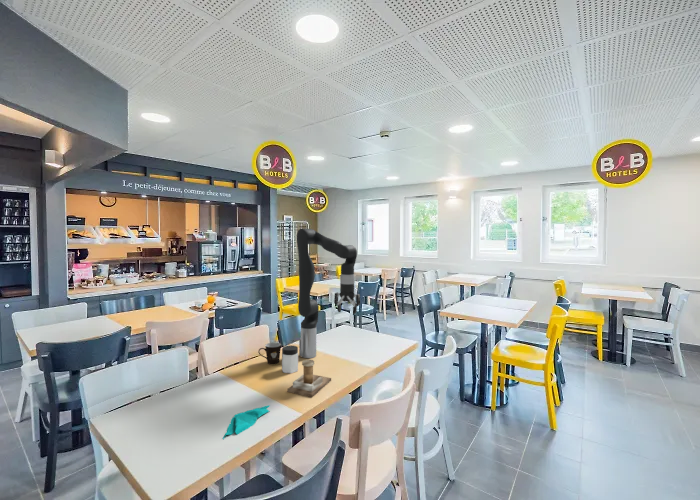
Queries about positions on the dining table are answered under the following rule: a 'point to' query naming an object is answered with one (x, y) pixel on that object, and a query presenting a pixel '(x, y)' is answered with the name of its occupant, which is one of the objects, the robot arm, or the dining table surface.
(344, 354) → the dining table surface
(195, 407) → the dining table surface
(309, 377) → the bobbin
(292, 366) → the jar
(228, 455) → the dining table surface
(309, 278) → the robot arm
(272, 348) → the coffee mug
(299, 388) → the brown board with bracket
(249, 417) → the cloth
